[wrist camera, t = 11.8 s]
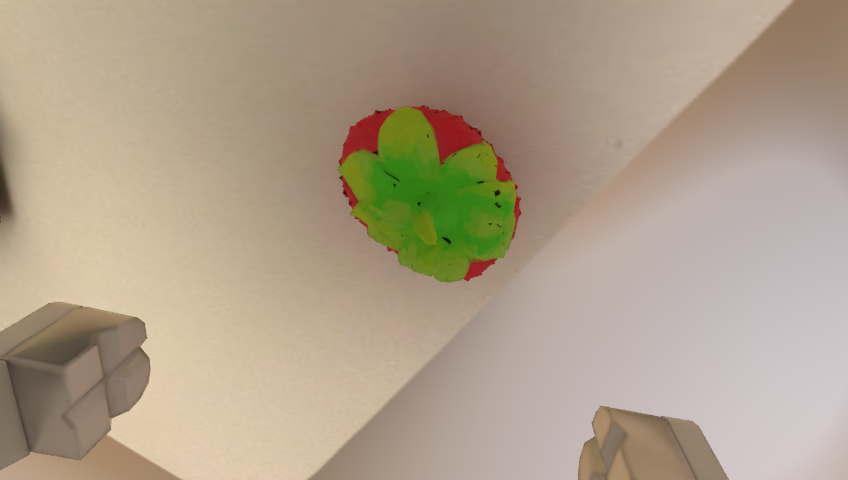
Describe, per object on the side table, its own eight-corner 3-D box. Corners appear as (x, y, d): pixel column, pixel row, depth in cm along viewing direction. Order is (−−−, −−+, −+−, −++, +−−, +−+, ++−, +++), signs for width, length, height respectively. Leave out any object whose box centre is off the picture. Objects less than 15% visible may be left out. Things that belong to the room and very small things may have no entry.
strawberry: (429, 52, 21) (386, 68, 12) (540, 174, 22) (577, 272, 13) (343, 143, 23) (250, 216, 14) (450, 248, 24) (428, 378, 15)
